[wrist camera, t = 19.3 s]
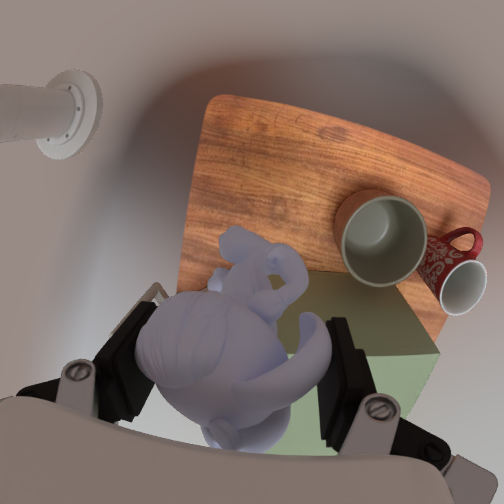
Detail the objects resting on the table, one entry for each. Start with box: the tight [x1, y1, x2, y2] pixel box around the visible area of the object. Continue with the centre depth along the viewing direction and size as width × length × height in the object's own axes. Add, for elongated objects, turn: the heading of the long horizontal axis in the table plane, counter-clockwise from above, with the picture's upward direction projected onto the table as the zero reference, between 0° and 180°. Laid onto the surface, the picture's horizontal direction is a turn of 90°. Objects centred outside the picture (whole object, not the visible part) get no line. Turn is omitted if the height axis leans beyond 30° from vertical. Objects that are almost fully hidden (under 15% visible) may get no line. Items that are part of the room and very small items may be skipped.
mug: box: [416, 227, 487, 316], centre depth 38 cm, size 13×9×14 cm
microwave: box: [262, 270, 440, 456], centre depth 43 cm, size 24×28×22 cm
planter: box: [334, 190, 428, 287], centre depth 40 cm, size 12×12×11 cm
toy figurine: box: [134, 225, 332, 453], centre depth 13 cm, size 7×6×12 cm
